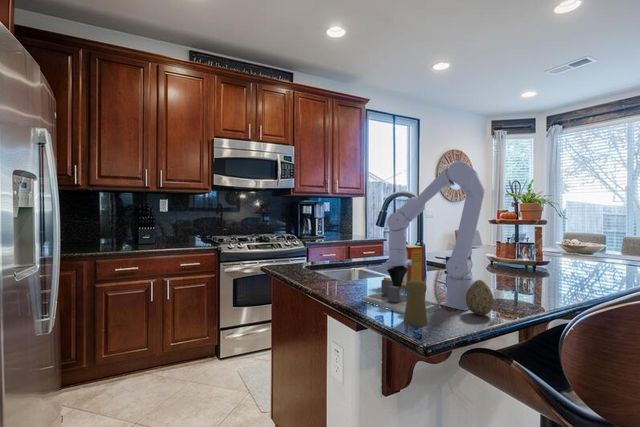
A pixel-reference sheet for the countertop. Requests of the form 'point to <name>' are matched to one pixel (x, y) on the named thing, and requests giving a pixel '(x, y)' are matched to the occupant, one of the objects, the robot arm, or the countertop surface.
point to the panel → (396, 303)
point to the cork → (416, 303)
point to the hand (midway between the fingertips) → (396, 288)
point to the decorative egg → (479, 298)
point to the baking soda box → (414, 264)
